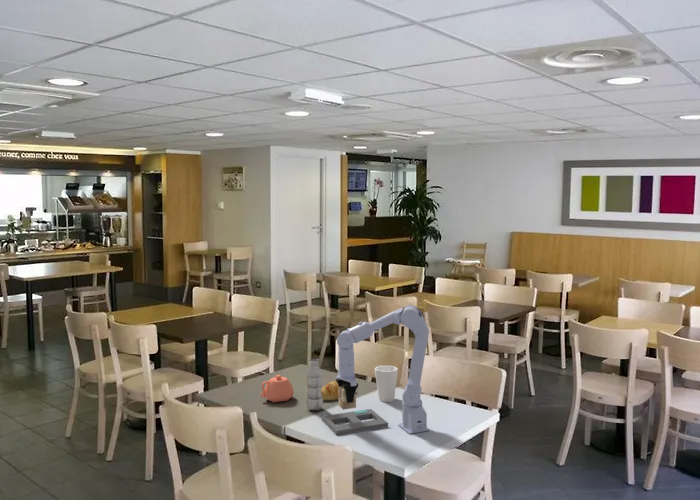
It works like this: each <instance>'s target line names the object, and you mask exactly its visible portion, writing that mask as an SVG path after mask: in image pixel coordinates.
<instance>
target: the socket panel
mask: <svg viewBox="0 0 700 500" xmlns="http://www.w3.org/2000/svg"><path fill="white" fill-rule="evenodd" d="M369 418H371V419H372V420H365V421H364V420H363V419H369ZM321 420H322V422H323V423H324V424H325V425H326V426H327V427H328V428H329V429H330V431H331V432H333V434H334V435H336V436H339V435H340V436H341V435H346V434H352V433H359V432H364V431H370V430H378V429H382V428H383V429H384V428H388V427H389V423H388V422H387V421H386V420H385V419H384V418H383V417H382V416H380V415H379V414H378V413H377V412H375V411H374V409H372V408H368V409H362V410H361V409H360V410H356V411H347V412H341V413H340V412H339V413H335V414H328V415H322V416H321ZM362 420H363V421H362ZM344 422H347V423H345V424H338V425H336V424H337V423H344Z"/></svg>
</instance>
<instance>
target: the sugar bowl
mask: <svg viewBox="0 0 700 500" xmlns="http://www.w3.org/2000/svg"><path fill="white" fill-rule="evenodd" d="M265 384H266V385H265ZM261 390H262V391H261V392H260V397H261V398H265V399H266V400H267V401H270V402H272V403H273V404H274V403H276V404H277V403H279V402H289V400H290V399H291V398H292V397H293V396H294V393H295V391H294V387H293V385H292V383H291V381H290V380H289V379H288V377H285V376H282V375H281V374H276V375H275V376H274V377H271V378H270V379H269V380H265V381H263V382H262V383H261Z"/></svg>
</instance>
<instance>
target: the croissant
mask: <svg viewBox="0 0 700 500" xmlns="http://www.w3.org/2000/svg"><path fill="white" fill-rule="evenodd" d="M338 387H339V386H338V383H337V382H336V380H332V381H328V382H327V383H326V385H323V386H321V391H322V398H323V402H324V401H336V400H338Z"/></svg>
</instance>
